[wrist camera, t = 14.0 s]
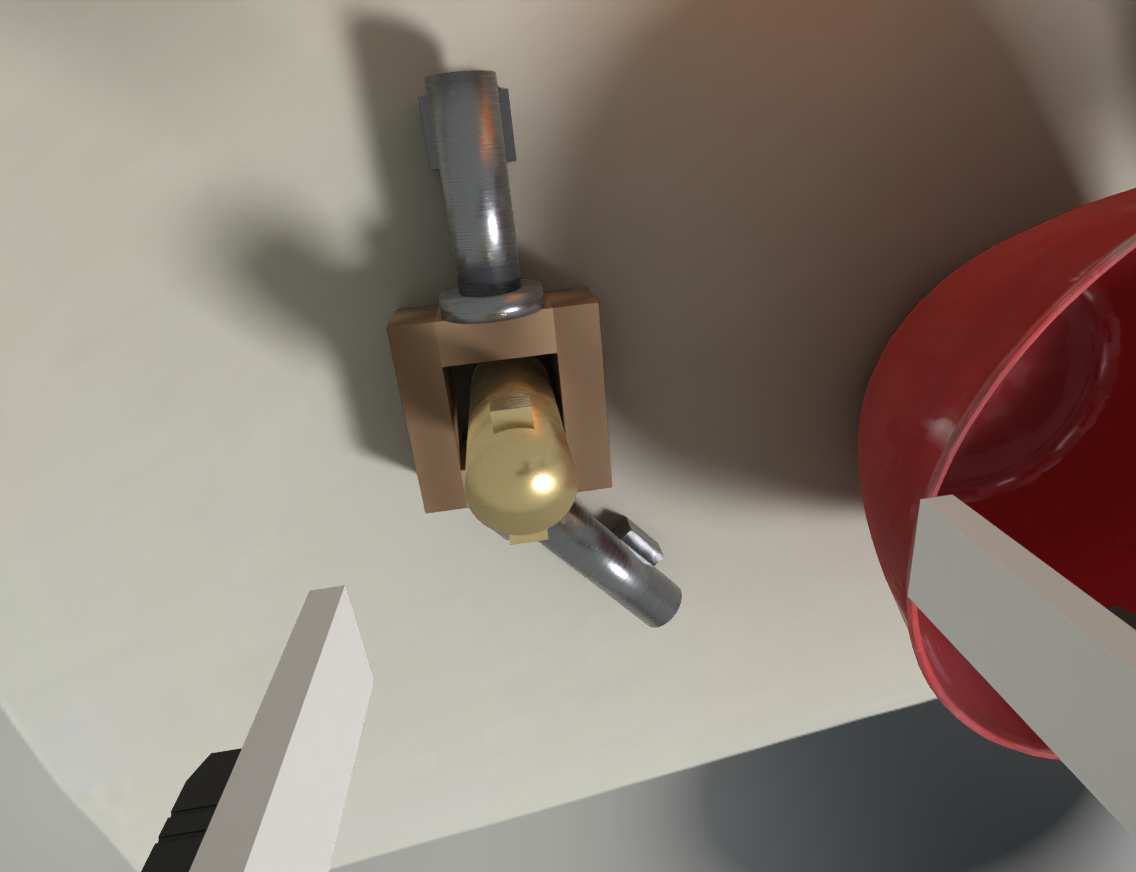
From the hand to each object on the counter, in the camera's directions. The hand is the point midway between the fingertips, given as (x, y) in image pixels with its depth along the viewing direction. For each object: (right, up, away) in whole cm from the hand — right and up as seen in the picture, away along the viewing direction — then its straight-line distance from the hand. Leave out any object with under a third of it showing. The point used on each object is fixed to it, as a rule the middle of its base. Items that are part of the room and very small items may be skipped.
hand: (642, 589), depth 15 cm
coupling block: (-5, +6, +21) cm, 23 cm away
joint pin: (-5, +6, +21) cm, 23 cm away
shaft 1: (-6, +15, +17) cm, 24 cm away
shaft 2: (-1, -2, +25) cm, 25 cm away
